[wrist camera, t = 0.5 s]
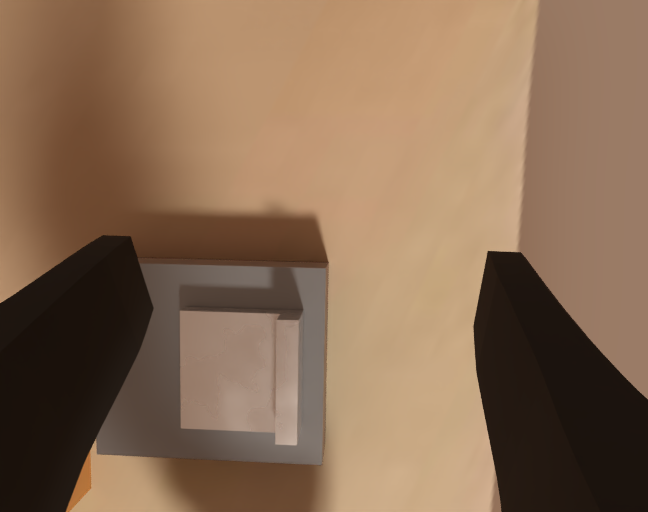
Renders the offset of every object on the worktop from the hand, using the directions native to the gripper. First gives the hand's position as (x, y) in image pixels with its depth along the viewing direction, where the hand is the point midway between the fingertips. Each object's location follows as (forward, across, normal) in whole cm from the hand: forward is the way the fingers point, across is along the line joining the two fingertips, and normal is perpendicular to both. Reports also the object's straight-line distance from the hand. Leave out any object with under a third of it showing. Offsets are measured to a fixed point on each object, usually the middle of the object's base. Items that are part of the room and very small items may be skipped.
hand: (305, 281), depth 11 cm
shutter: (+12, +6, +18) cm, 22 cm away
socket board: (+15, +9, +19) cm, 26 cm away
